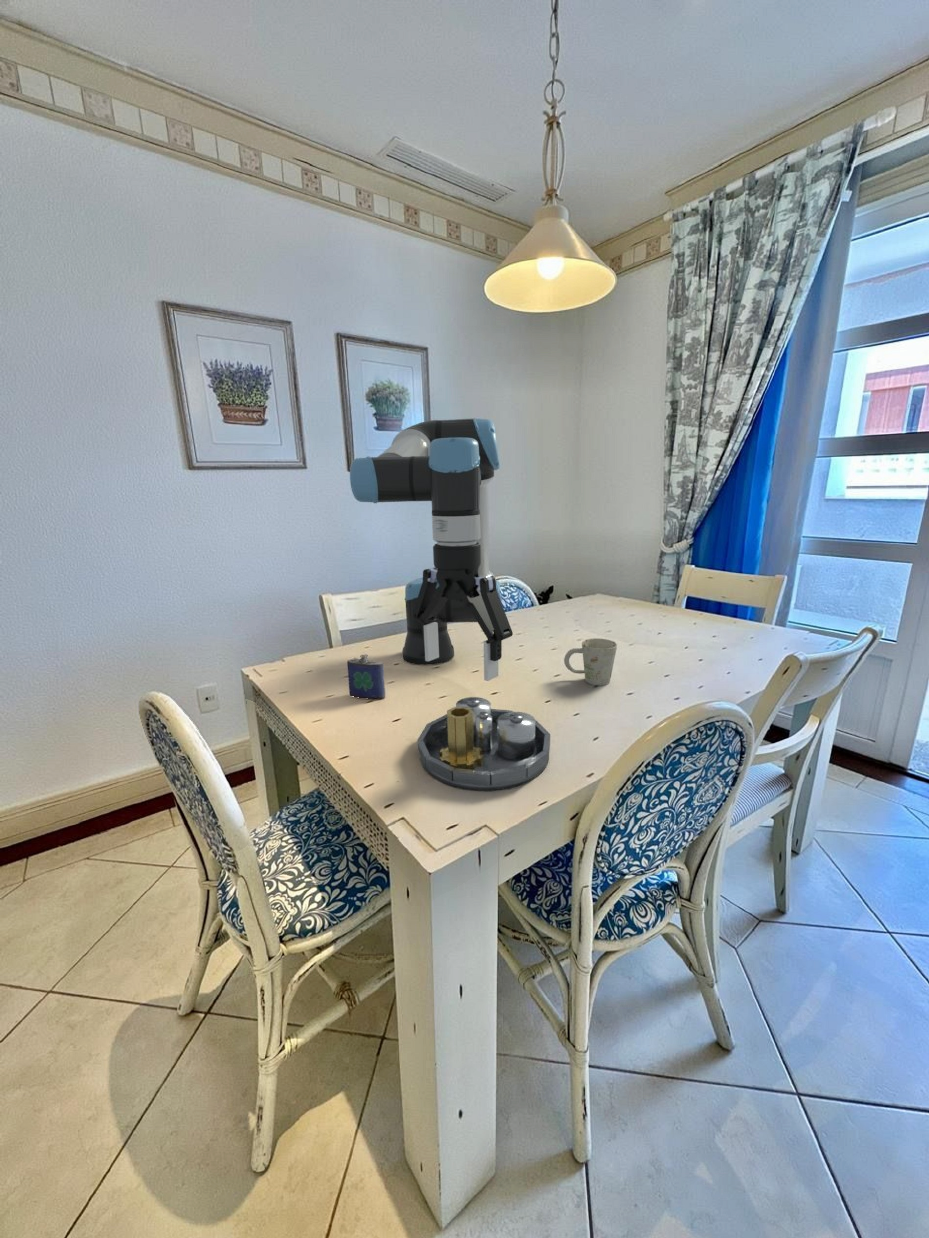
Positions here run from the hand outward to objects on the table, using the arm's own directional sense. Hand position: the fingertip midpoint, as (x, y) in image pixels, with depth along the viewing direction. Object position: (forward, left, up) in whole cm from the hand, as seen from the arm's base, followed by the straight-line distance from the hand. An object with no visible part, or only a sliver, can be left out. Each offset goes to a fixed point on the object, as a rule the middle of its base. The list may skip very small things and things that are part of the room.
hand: (460, 668), depth 83 cm
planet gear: (0, -1, -17) cm, 17 cm away
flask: (-38, +7, -19) cm, 43 cm away
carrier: (0, +6, -19) cm, 19 cm away
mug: (-2, +49, -19) cm, 53 cm away
